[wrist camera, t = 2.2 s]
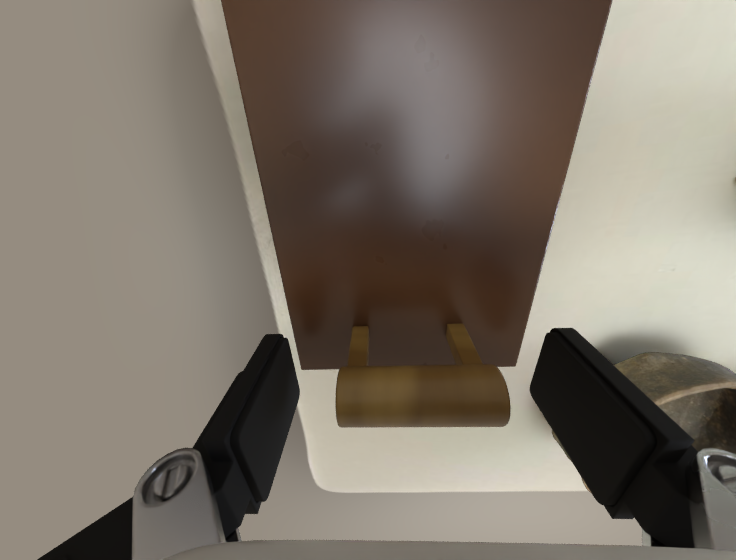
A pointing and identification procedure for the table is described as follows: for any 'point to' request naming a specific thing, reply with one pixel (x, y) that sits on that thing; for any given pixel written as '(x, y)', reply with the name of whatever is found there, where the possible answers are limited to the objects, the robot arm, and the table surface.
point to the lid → (413, 185)
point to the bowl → (688, 395)
